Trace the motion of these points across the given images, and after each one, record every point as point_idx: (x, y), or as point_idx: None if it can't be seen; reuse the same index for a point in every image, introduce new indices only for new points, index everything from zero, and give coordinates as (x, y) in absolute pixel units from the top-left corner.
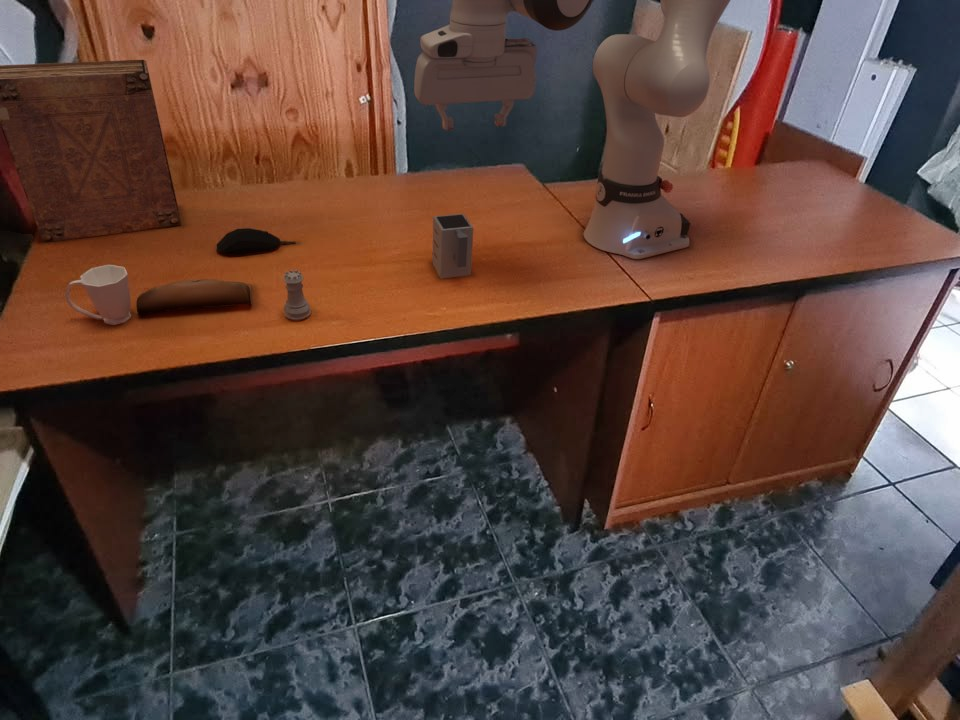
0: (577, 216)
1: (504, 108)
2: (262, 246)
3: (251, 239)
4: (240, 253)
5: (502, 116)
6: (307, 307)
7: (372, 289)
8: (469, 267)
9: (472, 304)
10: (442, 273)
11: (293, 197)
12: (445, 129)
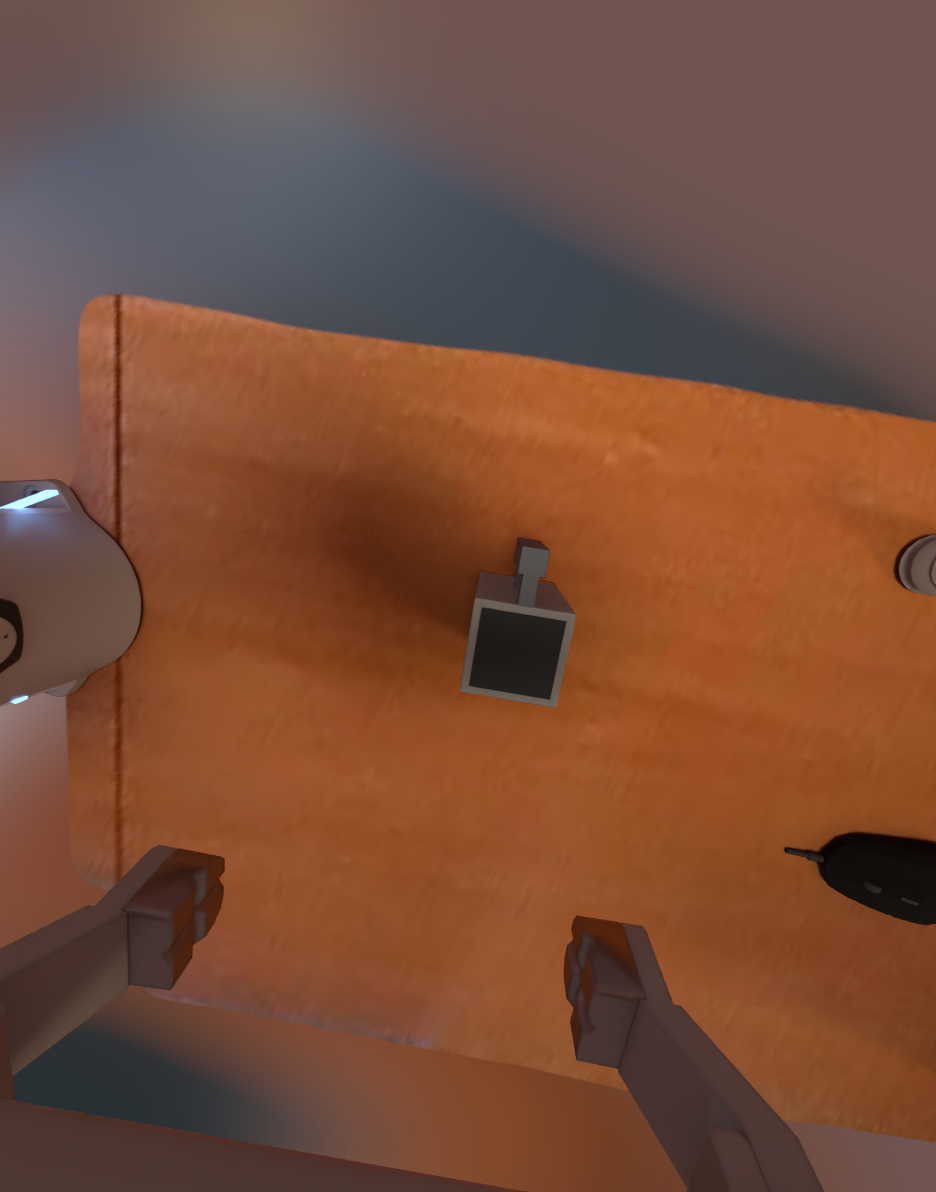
0: (107, 726)
1: (50, 1002)
2: (883, 847)
3: (920, 869)
4: (927, 844)
5: (133, 911)
6: (931, 548)
7: (721, 600)
8: (485, 575)
9: (539, 449)
10: (552, 585)
11: None
12: (639, 926)
